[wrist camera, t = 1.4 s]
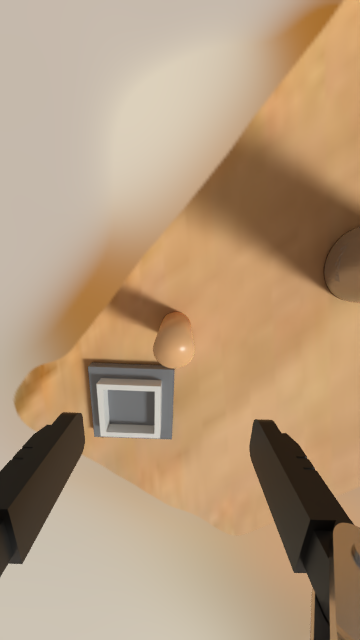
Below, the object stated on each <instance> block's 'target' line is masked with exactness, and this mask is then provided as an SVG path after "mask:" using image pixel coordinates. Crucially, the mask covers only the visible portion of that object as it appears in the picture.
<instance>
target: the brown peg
mask: <svg viewBox="0 0 360 640" xmlns="http://www.w3.org/2000/svg"><path fill="white" fill-rule="evenodd" d="M153 352H154V356H155V358H156V359H157V361H158V362H159V363H160V364H161V365H163V366H165V367H168V368H173V369H174V368H181V367H183V366H185V365H187V364H188V363H189V362H190V361H191V360H192V358H193V356H194V353H195V346H194V341H193V335H192V330H191V325H190V321H189V319H188V317H187V316H186V315H184V314H183V313H180V312H172V313H169V314H168V315H166V316H165V317H164V319H163V321H162V323H161V326H160V329H159V332H158V334H157V337H156V340H155V342H154V346H153Z"/></svg>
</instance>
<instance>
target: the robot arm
mask: <svg viewBox="0 0 360 640" xmlns="http://www.w3.org/2000/svg"><path fill="white" fill-rule="evenodd" d="M324 274H325V281H326V284H327V286H328V288H329V290H330V291H331V292H332V293H333V294H334V295H335V296H336V297H338V298H340V299H342V300H346V301H350V302H356V303H360V227H358V228H355V229H353V230H351V231H349V232H348V233H346V234H344V235H343V236H342V237H341V238H340V239H339V240H338V241H337V242H336V243H335V245H334V246H333V247H332V249H331V251H330V252H329V254H328V257H327V260H326V263H325V270H324ZM84 444H85V435H84V426H83V417H82V414H81V413H67V412H64V413H62V414H60V416H59V417H58V418H57V419H56V420H55V421H54V423H53V424H52V425H46V426H45V427H44V428H42V429H41V430H39V431H38V432H37V433H35V434H34V435H33V436H32V437H31V438H30V439H29V440H28V441H27V442H26V444H25V445H24V446H23V448H22V449H20V450H19V451H18V452H17V454H16V455H15V456H14V457H13V459H12V460H10V461H9V462H8V463H7V465H6V466H5V467H4V468H3V469H2V470H1V471H0V576H1V575H2V573H3V571H4V570H5V568H6V566H7V565H8V563H12V564H22V563H23V561H24V560H25V558H26V556H27V554H28V552H29V551H30V549H31V547H32V545H33V543H34V541H35V539H36V538H37V536H38V534H39V532H40V530H41V528H42V527H43V524H44V523H45V521H46V519H47V517H48V515H49V513H50V512H51V510H52V508H53V506H54V504H55V502H56V501H57V499H58V497H59V495H60V493H61V491H62V490H63V488H64V486H65V484H66V482H67V480H68V479H69V477H70V474H71V473H72V471H73V469H74V467H75V466H76V464H77V462H78V460H79V458H80V456H81V454H82V452H83V449H84ZM250 457H251V460H252V463H253V466H254V469H255V471H256V474H257V477H258V479H259V482H260V484H261V487H262V490H263V492H264V495H265V498H266V500H267V503H268V506H269V508H270V511H271V513H272V516H273V519H274V521H275V524H276V526H277V529H278V532H279V534H280V537H281V539H282V542H283V545H284V547H285V550H286V553H287V555H288V558H289V560H290V563H291V566H292V569H293V571H294V573H307V575H308V577H309V579H310V582H311V584H312V587H313V589H312V599H311V623H310V624H311V625H310V640H360V528H359V527H357V526H355V525H354V524H353V523H352V521H351V520H350V519H349V517H348V516H347V514H346V513H345V511H344V510H343V508H342V507H341V505H340V504H339V503H338V501H337V500H336V498H335V497H334V495H333V494H332V492H331V491H330V490H329V488H328V487H327V485H326V484H325V482H324V481H323V479H322V478H321V476H320V475H319V474H318V472H317V471H315V468H314V466H313V465H312V463H311V462H310V461H309V459H307V456H306V455H305V453H304V452H303V450H302V449H301V447H300V446H299V445H298V443H296V442H295V441H294V440H293V439H292V438H291V437H290V436H289V435H287V434H286V433H281V432H280V430H279V429H278V427H277V426H276V424H275V423H274V421H272V420H257V419H256V420H254V422H253V428H252V434H251V440H250Z"/></svg>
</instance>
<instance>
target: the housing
mask: <svg viewBox="0 0 360 640" xmlns="http://www.w3.org/2000/svg"><path fill="white" fill-rule="evenodd" d="M88 372H89V383H90V394H91V405H92V416H93V426H94V437H119V438H147V439H172V422H173V395H174V369H173V368H168V367H165V366H163V365H143V364H117V363H91V364H90V365H89V366H88Z"/></svg>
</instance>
